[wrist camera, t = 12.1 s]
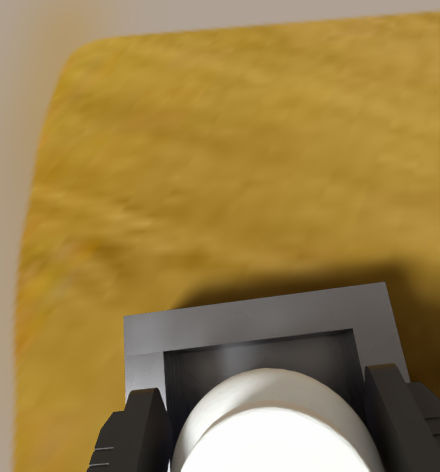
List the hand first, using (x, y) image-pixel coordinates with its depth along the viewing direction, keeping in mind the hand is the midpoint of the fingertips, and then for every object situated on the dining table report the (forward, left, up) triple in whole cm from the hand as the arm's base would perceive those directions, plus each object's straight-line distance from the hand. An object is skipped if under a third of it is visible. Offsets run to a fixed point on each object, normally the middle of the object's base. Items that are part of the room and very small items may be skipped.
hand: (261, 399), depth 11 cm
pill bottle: (+2, +1, -6) cm, 7 cm away
